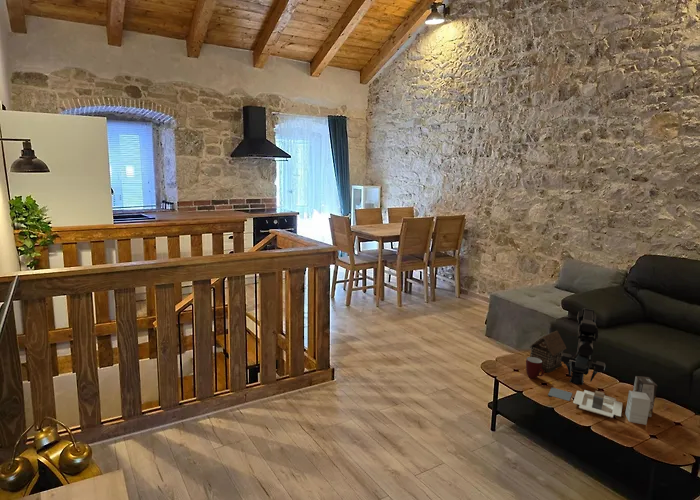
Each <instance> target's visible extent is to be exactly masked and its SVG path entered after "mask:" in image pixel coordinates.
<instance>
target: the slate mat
mask: <svg viewBox="0 0 700 500" xmlns="http://www.w3.org/2000/svg"><path fill="white" fill-rule="evenodd" d="M572 395H573V392H570V391H566V390H563V389H559V388H556V387H553V386H552V387H551V388H550V390H549V392H548V394H547V397H550V398H553V397H554V398H557V399H561V400H564V401H567V402H570V401H571V398H572Z"/></svg>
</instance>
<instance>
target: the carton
mask: <svg viewBox="0 0 700 500" xmlns="http://www.w3.org/2000/svg"><path fill="white" fill-rule="evenodd" d="M594 394H595V391H590V390H586V389H584V391H580V390H576V393H575V395H574V399H573V400H572V401H573V402H572V404H575V405H579V406H578V408H579V409H580V410H584V411H586V412H591V413H594V414H597V415H601V416H605V417H608V418H611V419H613V418H614V416H616V417H622V410H623V404H624V403H623V402H621V401H617V398H616V397H612V396H609V395H605V394H604V399H603V405H602V410H599V409H595V408H592V404H593V397H594Z"/></svg>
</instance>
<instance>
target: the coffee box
mask: <svg viewBox="0 0 700 500" xmlns="http://www.w3.org/2000/svg"><path fill="white" fill-rule="evenodd" d="M657 389H658V384H657V383H656V382H654V381H653V379H652V378H651V377H649V376H641V375H640V376H638V375H635V378H634V384H633V390H632V391H635V392H641V393H646V394H647V395H648V397H649V399H650V400H651V402H650V407H649V413H648V418H652V416H653V411H654V407H655V400H656V396H657Z"/></svg>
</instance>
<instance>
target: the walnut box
mask: <svg viewBox="0 0 700 500" xmlns="http://www.w3.org/2000/svg"><path fill="white" fill-rule="evenodd" d="M594 393H595V394H594V397H593V404H592V408H595V409H599V410H602V405H603V399H604V395H605V392H603V391H598V390H594Z"/></svg>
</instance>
